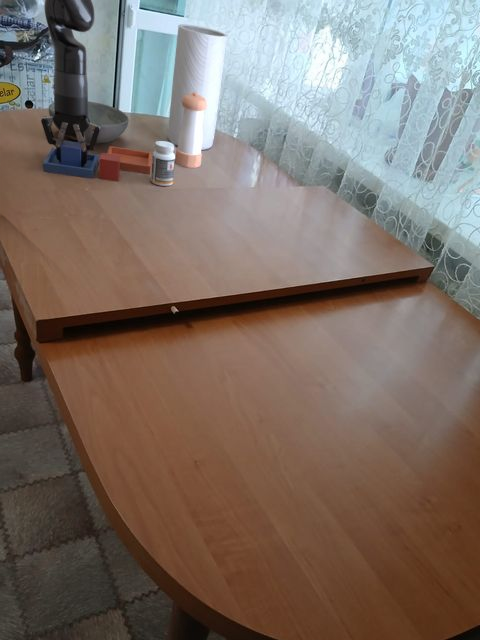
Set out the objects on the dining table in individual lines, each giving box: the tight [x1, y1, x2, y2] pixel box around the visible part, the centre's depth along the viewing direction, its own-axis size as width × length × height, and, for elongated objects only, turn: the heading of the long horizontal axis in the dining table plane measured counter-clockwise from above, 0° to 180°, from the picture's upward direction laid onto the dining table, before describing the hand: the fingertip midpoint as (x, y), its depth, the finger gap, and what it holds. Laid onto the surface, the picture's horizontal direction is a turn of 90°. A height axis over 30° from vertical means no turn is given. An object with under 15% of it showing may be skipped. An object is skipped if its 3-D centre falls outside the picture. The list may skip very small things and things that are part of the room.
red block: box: [98, 152, 121, 182], centre depth 136 cm, size 5×5×5 cm
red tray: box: [106, 145, 153, 175], centre depth 147 cm, size 12×12×2 cm
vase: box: [167, 23, 228, 151], centre depth 162 cm, size 14×14×32 cm
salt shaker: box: [175, 92, 208, 169], centre depth 151 cm, size 7×7×19 cm
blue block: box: [61, 140, 82, 167], centre depth 136 cm, size 5×5×5 cm
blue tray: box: [42, 147, 100, 179], centre depth 137 cm, size 12×12×2 cm
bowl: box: [48, 100, 130, 145], centre depth 154 cm, size 21×21×8 cm
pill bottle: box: [150, 140, 176, 187], centre depth 138 cm, size 6×6×10 cm
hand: (72, 163), depth 137 cm, fingers closed on blue block, 4 cm apart
